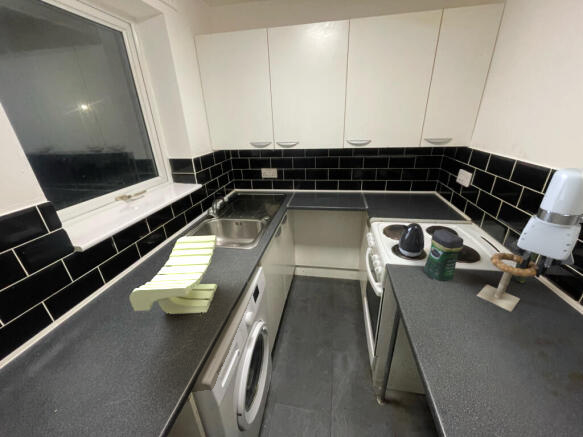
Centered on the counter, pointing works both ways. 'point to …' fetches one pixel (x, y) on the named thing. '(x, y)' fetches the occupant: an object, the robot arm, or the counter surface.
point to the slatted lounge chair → (180, 279)
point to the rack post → (500, 294)
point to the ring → (500, 265)
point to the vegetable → (520, 278)
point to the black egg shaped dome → (412, 240)
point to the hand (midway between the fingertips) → (530, 272)
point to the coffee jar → (443, 255)
